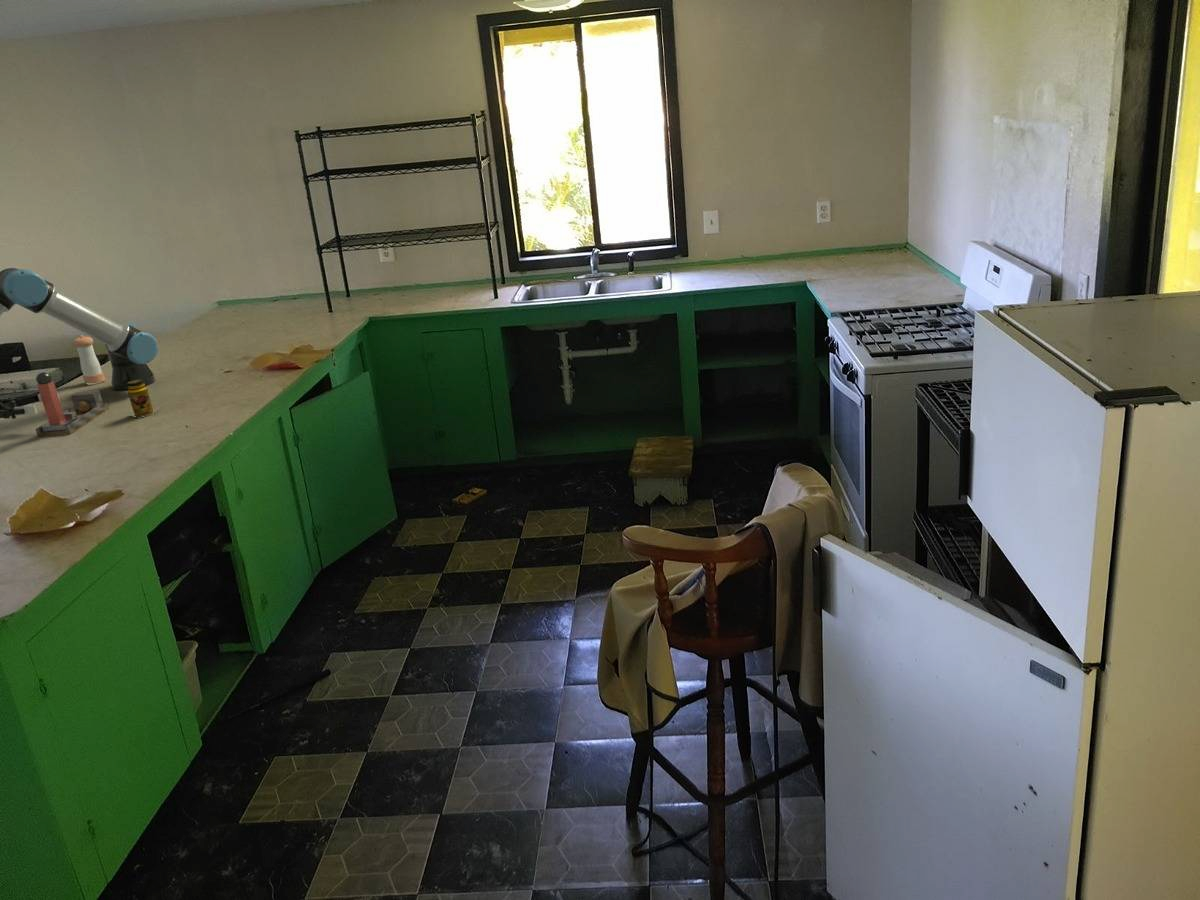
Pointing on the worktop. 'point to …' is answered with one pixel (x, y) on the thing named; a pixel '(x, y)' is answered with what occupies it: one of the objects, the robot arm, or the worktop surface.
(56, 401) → the handle carriage
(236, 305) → the worktop surface
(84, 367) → the pepper shaker
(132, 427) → the worktop surface
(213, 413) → the worktop surface
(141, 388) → the condiment
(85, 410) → the press base
